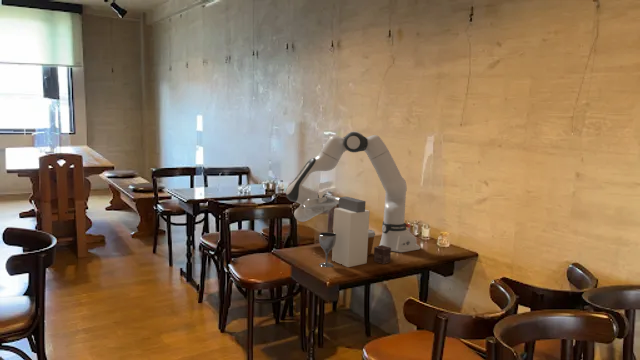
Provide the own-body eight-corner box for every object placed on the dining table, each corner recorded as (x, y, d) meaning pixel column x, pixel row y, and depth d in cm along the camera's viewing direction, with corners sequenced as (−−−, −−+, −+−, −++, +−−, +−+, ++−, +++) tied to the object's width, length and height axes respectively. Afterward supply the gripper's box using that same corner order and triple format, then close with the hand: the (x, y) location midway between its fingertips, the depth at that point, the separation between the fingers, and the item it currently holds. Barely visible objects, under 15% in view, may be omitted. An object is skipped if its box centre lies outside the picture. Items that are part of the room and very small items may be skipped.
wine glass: (328, 261, 242) (329, 231, 239) (338, 265, 235) (339, 235, 233) (314, 263, 237) (316, 233, 235) (324, 268, 231) (326, 237, 228)
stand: (330, 259, 244) (333, 197, 239) (348, 256, 251) (352, 195, 247) (348, 267, 234) (352, 202, 229) (367, 263, 241) (370, 200, 236)
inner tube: (322, 200, 254) (322, 194, 253) (327, 199, 256) (327, 193, 255) (352, 208, 236) (352, 202, 235) (357, 208, 238) (357, 201, 237)
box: (390, 262, 245) (391, 247, 244) (382, 264, 241) (383, 249, 240) (380, 259, 249) (381, 244, 248) (373, 261, 245) (374, 246, 244)
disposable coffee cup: (377, 255, 255) (379, 232, 253) (362, 257, 250) (363, 234, 249) (367, 250, 263) (368, 228, 262) (352, 252, 259) (353, 229, 257)
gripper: (297, 202, 256) (312, 193, 245) (328, 199, 268) (343, 190, 258) (300, 214, 254) (315, 205, 244) (331, 210, 267) (346, 201, 256)
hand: (330, 197), depth 251 cm, fingers closed on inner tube, 3 cm apart
